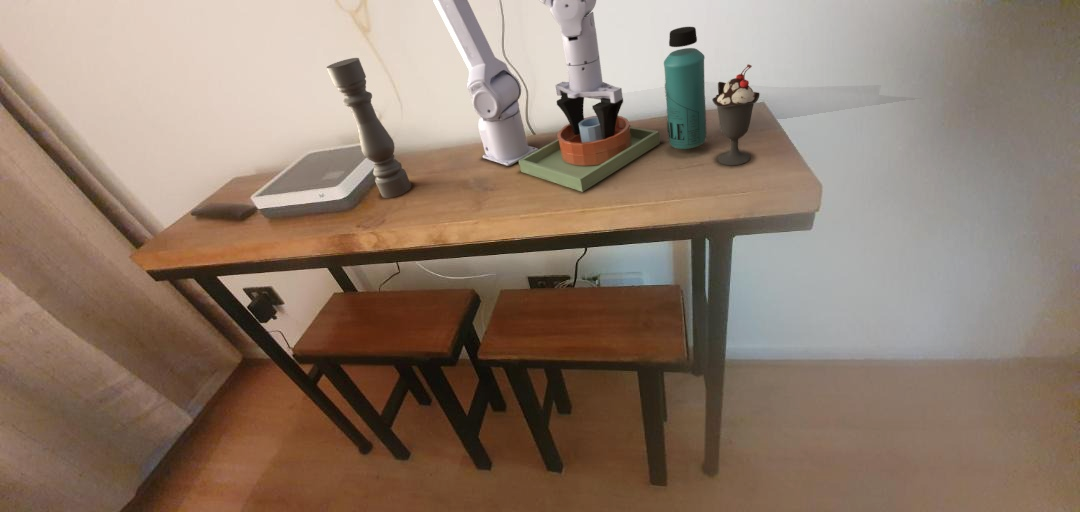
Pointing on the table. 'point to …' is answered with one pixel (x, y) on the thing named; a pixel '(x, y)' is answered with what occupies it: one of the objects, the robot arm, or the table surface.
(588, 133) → the pale blue cup
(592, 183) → the tray
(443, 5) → the robot arm
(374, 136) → the candle holder
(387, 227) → the table surface
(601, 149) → the big bowl
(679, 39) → the beverage bottle
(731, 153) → the sundae
